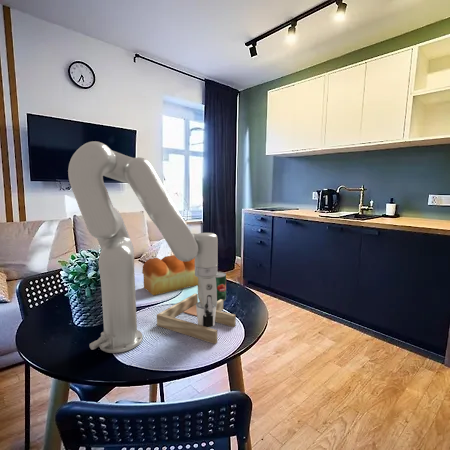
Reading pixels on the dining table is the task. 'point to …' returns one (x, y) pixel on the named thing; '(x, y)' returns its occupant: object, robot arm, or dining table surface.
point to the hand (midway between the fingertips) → (206, 322)
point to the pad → (191, 311)
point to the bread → (168, 274)
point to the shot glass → (201, 313)
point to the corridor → (191, 329)
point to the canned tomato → (221, 286)
